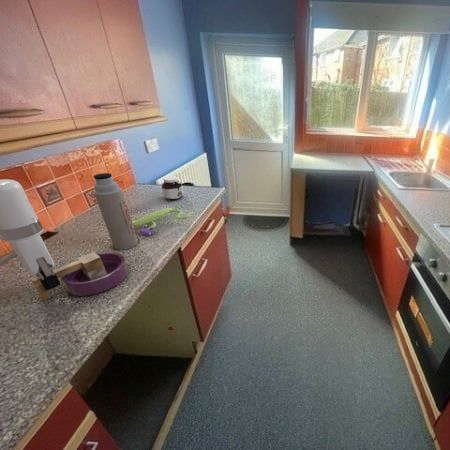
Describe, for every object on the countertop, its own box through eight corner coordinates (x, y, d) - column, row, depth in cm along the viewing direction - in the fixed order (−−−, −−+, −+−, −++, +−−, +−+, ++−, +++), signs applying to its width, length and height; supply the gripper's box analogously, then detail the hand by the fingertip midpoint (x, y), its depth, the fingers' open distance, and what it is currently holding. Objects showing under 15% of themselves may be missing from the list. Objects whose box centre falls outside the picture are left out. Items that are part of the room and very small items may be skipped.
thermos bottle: (142, 239, 101) (121, 171, 88) (130, 250, 94) (106, 178, 81) (122, 238, 101) (98, 170, 88) (109, 249, 94) (81, 177, 81)
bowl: (81, 305, 70) (74, 291, 67) (59, 283, 77) (52, 270, 75) (138, 275, 82) (134, 263, 79) (115, 259, 89) (110, 247, 86)
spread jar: (170, 202, 134) (166, 181, 129) (158, 197, 139) (153, 177, 134) (189, 196, 144) (186, 176, 138) (177, 191, 149) (173, 172, 143)
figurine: (199, 223, 115) (197, 212, 112) (132, 241, 99) (128, 229, 97) (185, 209, 127) (183, 199, 125) (124, 224, 111) (120, 212, 109)
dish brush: (45, 303, 69) (34, 283, 66) (39, 295, 71) (28, 276, 68) (107, 274, 80) (100, 257, 77) (100, 269, 83) (93, 251, 79)
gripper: (-10, 225, 63) (24, 281, 72) (8, 246, 56) (44, 305, 64) (30, 215, 69) (58, 268, 78) (51, 233, 61) (79, 289, 70)
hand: (51, 285), depth 71 cm, fingers closed on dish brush
